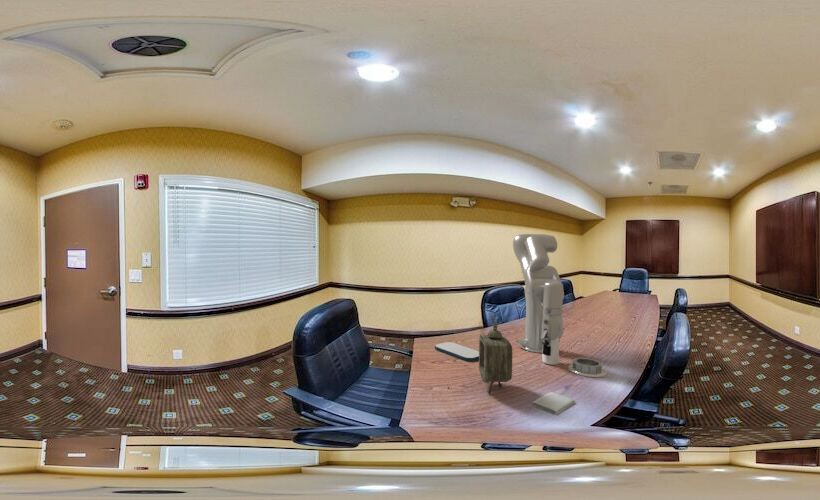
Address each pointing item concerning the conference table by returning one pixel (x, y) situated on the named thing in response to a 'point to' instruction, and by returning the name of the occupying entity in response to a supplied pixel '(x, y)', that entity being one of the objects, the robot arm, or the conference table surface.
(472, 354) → the external hard drive
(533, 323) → the robot arm
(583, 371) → the ring collar
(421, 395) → the conference table surface
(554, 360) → the can
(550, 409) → the hard drive
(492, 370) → the tabletop clock
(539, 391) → the conference table surface
